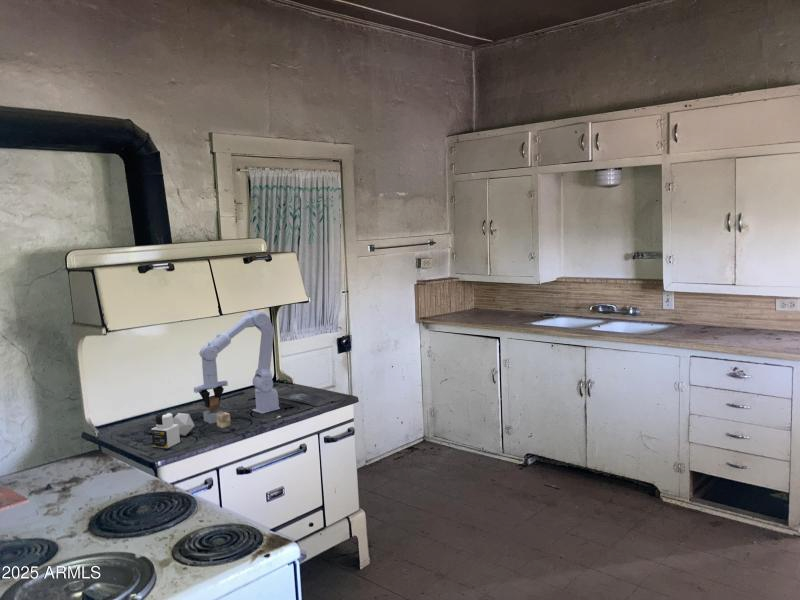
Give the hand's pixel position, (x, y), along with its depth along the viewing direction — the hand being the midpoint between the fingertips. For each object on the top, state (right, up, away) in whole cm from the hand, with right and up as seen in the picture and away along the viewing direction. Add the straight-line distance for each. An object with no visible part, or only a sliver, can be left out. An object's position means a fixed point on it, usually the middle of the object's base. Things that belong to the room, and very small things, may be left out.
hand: (212, 405), depth 274 cm
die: (-7, -9, -15) cm, 19 cm away
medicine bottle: (-10, -11, -27) cm, 31 cm away
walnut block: (0, -2, 0) cm, 2 cm away
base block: (0, -7, +1) cm, 7 cm away
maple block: (+7, -7, -7) cm, 12 cm away
